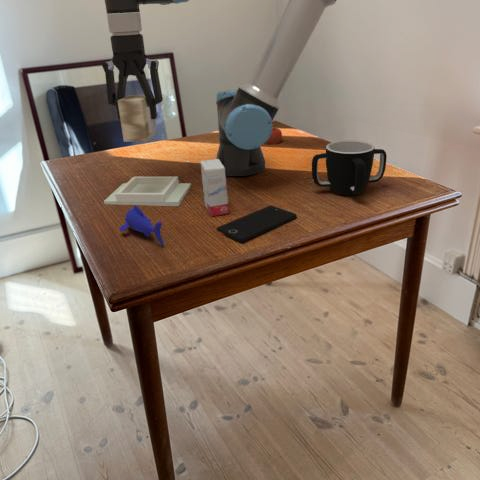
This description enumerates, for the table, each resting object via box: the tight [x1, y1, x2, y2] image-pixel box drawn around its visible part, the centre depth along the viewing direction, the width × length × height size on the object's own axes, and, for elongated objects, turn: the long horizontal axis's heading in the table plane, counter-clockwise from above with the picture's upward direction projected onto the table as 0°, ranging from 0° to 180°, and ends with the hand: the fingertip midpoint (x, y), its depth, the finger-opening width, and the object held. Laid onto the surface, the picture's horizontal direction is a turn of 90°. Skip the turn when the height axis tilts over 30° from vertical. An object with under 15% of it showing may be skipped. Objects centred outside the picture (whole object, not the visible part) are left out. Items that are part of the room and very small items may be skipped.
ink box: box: [200, 158, 230, 217], centre depth 117 cm, size 9×5×12 cm, turn 13°
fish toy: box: [119, 205, 165, 247], centre depth 106 cm, size 15×8×7 cm, turn 41°
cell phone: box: [216, 205, 298, 243], centre depth 111 cm, size 9×18×1 cm, turn 132°
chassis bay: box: [103, 176, 192, 207], centre depth 129 cm, size 20×14×4 cm
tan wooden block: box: [118, 94, 157, 143], centre depth 120 cm, size 6×8×10 cm
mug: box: [311, 140, 387, 196], centre depth 124 cm, size 16×16×12 cm
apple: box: [265, 124, 283, 145], centre depth 167 cm, size 7×7×8 cm
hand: (139, 131), depth 122 cm, fingers closed on tan wooden block, 6 cm apart
